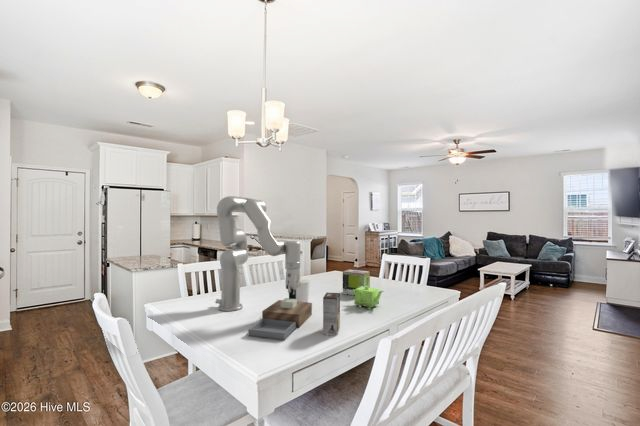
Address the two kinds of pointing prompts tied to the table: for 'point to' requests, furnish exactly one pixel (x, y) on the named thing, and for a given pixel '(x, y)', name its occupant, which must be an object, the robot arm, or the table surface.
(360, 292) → the kettle
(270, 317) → the brown slab
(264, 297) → the table surface
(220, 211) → the robot arm
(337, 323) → the coffee box
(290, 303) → the tile
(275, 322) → the bin
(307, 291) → the candle holder
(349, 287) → the tea box
